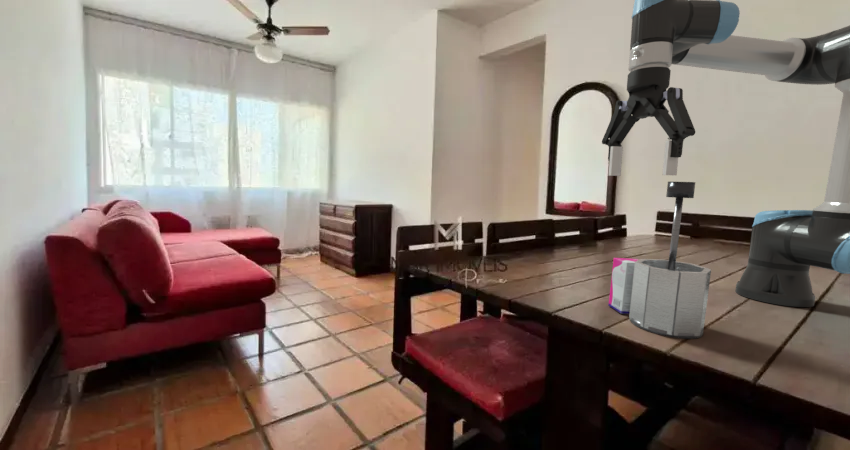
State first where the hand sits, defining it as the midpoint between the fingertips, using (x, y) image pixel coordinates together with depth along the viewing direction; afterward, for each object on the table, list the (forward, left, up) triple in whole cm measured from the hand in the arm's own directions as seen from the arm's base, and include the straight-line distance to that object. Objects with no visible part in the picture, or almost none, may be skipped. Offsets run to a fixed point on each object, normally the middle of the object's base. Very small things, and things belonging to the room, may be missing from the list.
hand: (639, 175), depth 78 cm
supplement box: (-1, -2, -30) cm, 30 cm away
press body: (-4, +5, -30) cm, 31 cm away
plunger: (-4, +7, -21) cm, 23 cm away
